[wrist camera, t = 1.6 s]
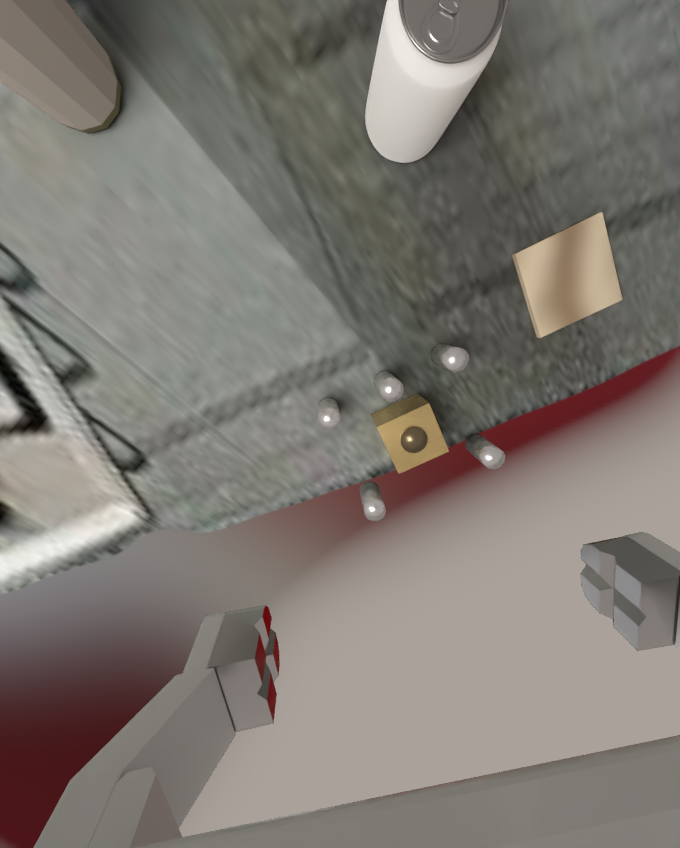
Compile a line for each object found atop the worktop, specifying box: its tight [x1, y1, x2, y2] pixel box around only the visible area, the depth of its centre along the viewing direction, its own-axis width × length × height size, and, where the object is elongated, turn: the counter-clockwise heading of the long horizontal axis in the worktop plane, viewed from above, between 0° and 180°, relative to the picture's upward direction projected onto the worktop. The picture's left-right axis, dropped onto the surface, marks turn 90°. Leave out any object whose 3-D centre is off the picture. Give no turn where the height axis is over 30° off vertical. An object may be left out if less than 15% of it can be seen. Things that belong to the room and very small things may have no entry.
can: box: [365, 0, 509, 163], centre depth 24 cm, size 6×6×12 cm
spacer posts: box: [318, 344, 505, 521], centre depth 35 cm, size 14×12×4 cm
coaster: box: [512, 212, 622, 338], centre depth 33 cm, size 8×8×1 cm
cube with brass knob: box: [371, 393, 449, 473], centre depth 35 cm, size 5×5×5 cm
